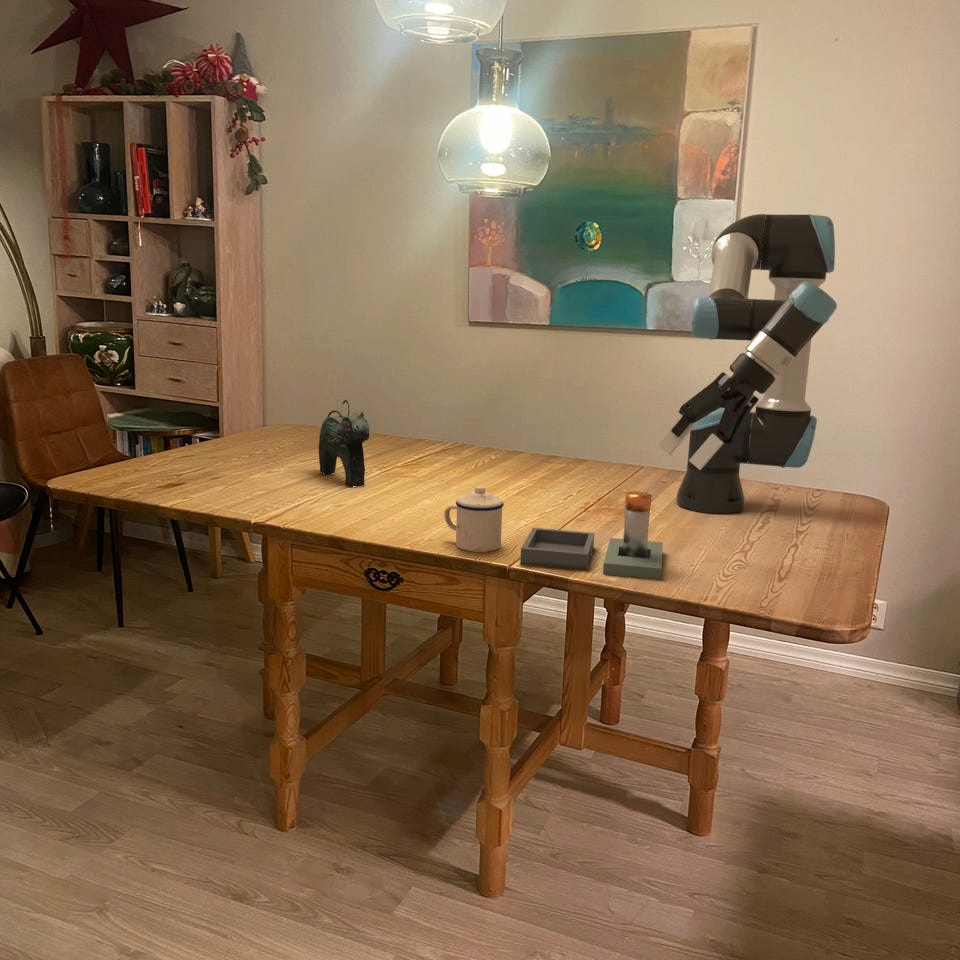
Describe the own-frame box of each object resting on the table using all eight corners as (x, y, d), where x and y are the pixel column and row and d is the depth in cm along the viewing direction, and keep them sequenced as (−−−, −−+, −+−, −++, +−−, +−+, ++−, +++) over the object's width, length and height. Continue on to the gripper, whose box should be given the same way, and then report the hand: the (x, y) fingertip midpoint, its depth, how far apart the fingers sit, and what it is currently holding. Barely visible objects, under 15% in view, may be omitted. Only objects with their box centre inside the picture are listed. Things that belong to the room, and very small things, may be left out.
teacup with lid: (509, 543, 181) (512, 485, 178) (488, 556, 173) (490, 495, 170) (455, 534, 186) (457, 477, 183) (432, 545, 178) (434, 486, 175)
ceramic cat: (372, 487, 221) (372, 404, 217) (347, 490, 218) (347, 405, 213) (334, 470, 237) (334, 392, 233) (311, 473, 234) (310, 394, 229)
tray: (532, 542, 182) (532, 527, 181) (593, 547, 180) (594, 532, 179) (520, 564, 169) (520, 548, 168) (586, 570, 166) (587, 554, 166)
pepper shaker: (621, 558, 174) (626, 490, 171) (646, 560, 173) (651, 492, 170) (620, 565, 170) (625, 496, 167) (645, 567, 169) (651, 498, 166)
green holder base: (609, 547, 180) (610, 537, 179) (662, 552, 178) (663, 542, 178) (602, 573, 165) (603, 563, 164) (660, 579, 163) (661, 568, 162)
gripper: (751, 355, 148) (664, 457, 154) (798, 394, 168) (720, 483, 174) (718, 330, 152) (635, 430, 158) (768, 371, 172) (692, 458, 178)
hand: (679, 458), depth 166 cm, fingers open, 13 cm apart
